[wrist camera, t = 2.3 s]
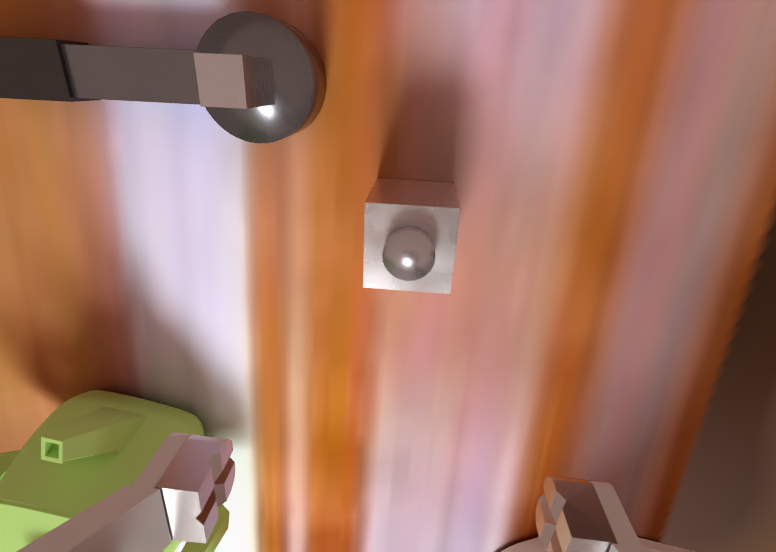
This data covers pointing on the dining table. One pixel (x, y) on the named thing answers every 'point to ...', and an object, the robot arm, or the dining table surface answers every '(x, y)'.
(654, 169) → the dining table surface
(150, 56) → the ratchet
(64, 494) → the teapot
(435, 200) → the cube with grey knob
